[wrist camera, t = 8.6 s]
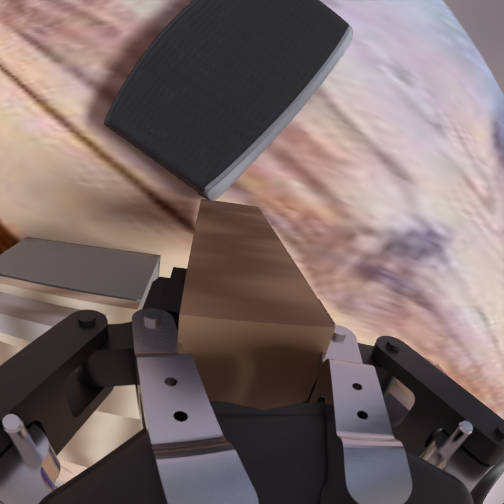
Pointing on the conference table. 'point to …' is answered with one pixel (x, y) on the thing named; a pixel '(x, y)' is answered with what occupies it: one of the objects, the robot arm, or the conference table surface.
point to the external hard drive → (226, 84)
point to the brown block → (249, 312)
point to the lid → (41, 320)
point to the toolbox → (82, 268)
